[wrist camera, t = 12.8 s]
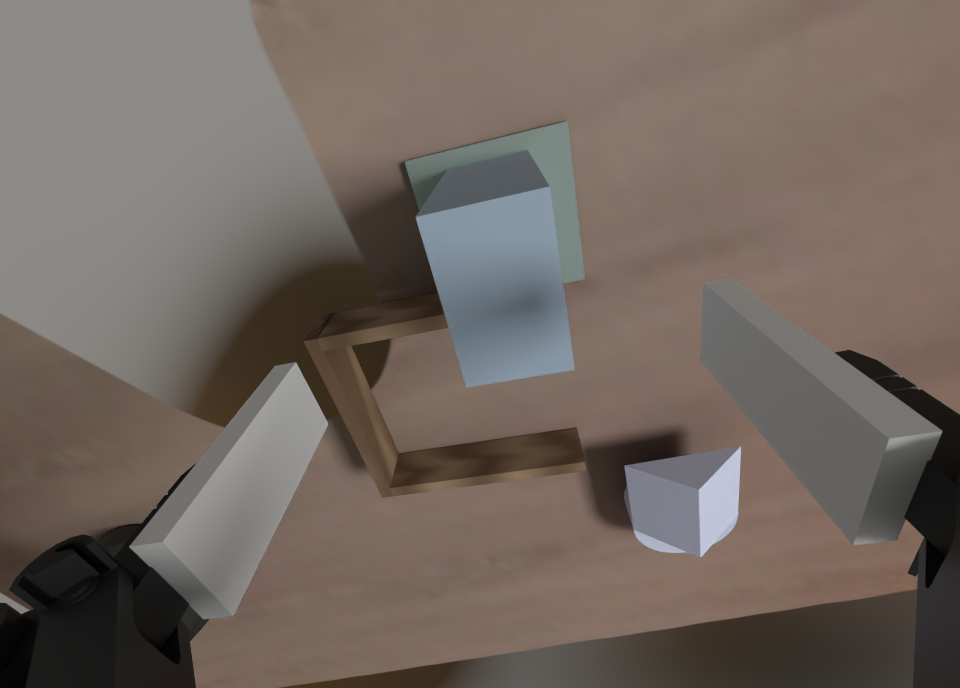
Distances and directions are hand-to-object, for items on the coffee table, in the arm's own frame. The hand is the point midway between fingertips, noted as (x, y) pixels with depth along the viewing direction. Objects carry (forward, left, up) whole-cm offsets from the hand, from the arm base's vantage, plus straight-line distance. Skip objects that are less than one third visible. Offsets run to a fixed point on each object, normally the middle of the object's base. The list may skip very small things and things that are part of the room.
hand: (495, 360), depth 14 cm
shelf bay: (-5, -12, -17) cm, 21 cm away
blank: (0, 0, -16) cm, 16 cm away
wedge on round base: (+11, -27, -17) cm, 34 cm away
